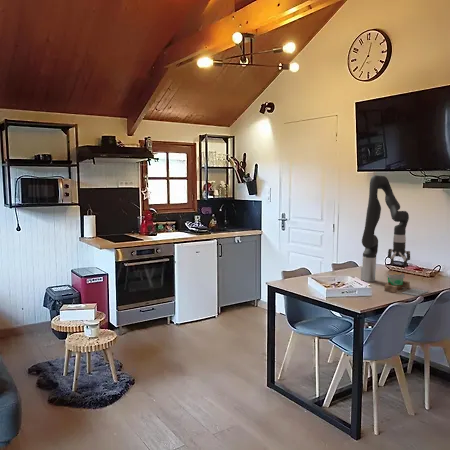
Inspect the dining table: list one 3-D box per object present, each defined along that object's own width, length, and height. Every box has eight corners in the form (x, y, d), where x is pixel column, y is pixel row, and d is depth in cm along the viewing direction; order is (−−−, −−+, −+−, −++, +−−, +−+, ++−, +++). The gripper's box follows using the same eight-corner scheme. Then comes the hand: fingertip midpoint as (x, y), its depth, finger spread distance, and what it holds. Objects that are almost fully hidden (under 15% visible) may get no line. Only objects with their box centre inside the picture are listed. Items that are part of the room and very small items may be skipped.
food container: (391, 291, 298) (392, 276, 297) (386, 288, 304) (386, 274, 303) (408, 289, 302) (408, 275, 301) (402, 287, 308) (402, 273, 306)
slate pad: (401, 293, 292) (401, 292, 292) (412, 289, 303) (412, 288, 303) (417, 296, 285) (417, 295, 285) (428, 292, 296) (428, 291, 296)
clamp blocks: (384, 290, 298) (384, 284, 298) (399, 285, 313) (399, 280, 312) (394, 293, 293) (394, 286, 293) (409, 287, 308) (409, 281, 307)
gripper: (386, 240, 302) (385, 264, 304) (407, 242, 292) (406, 267, 294) (391, 239, 307) (391, 263, 309) (412, 241, 297) (411, 266, 299)
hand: (398, 265), depth 301 cm, fingers open, 8 cm apart
